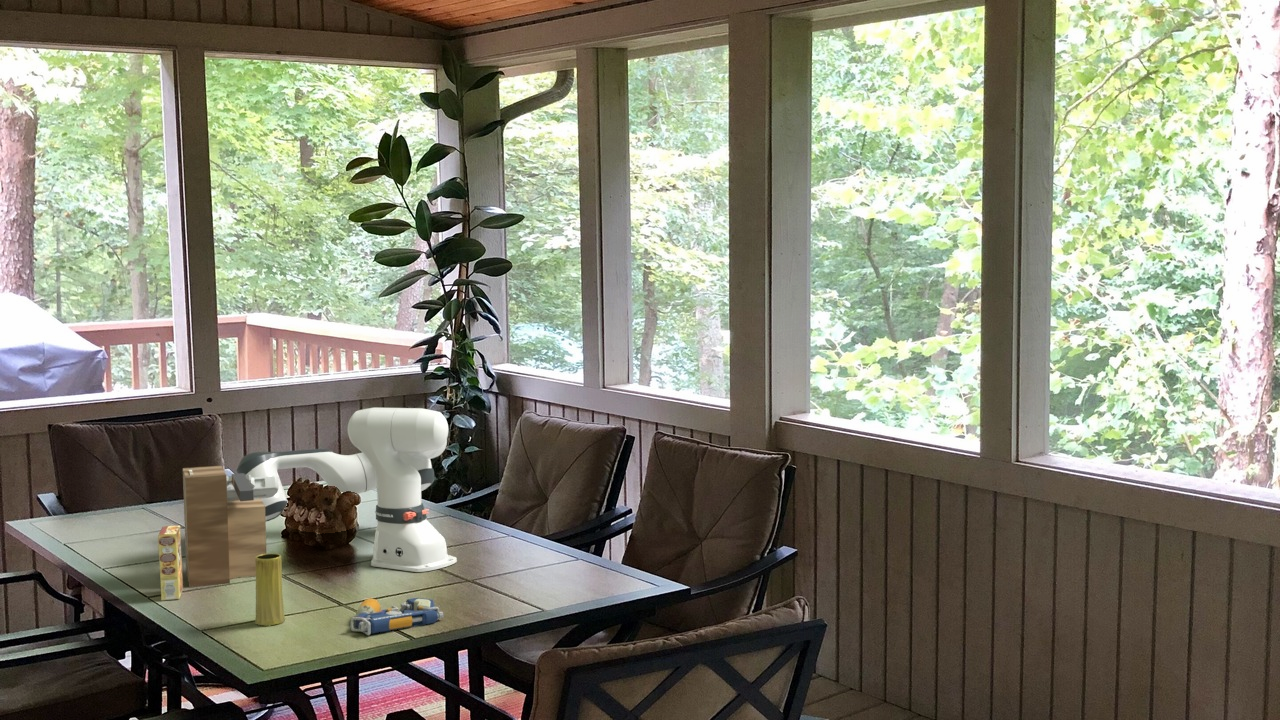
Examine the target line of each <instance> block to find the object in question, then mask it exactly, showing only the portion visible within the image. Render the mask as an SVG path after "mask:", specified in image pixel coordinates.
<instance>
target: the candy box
mask: <svg viewBox="0 0 1280 720" xmlns="http://www.w3.org/2000/svg"><path fill="white" fill-rule="evenodd" d="M157 540H158V557H159V559H158V560H159V577H160V596H161V597H160V598H161V599H160V600H161V601H171V600H179V599H180V598H181V596H182V593H183V590H184V585H183V584H184V581H183V565H182V564H183V562H182V560H183V559H182V539H181V525H169V526H168V525H166V526H162V527H161V530H160V531H159V533H158V534H157Z"/></svg>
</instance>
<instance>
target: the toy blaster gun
mask: <svg viewBox="0 0 1280 720" xmlns="http://www.w3.org/2000/svg"><path fill="white" fill-rule="evenodd" d="M381 608H382V607H381V604H380V603H379V601H378V600H377V599H375V598H367V599H364V601H362V603H361V604H360V606H359V607H358V609H357V610H356V612H355V616H352V617H351V618H350V630H351V631H352V632H361V633H363V634H365V635H366V636H370V635H371V634H373V635H374V634H378V633H379V632H380V633H385V632H392V631H397V629H398V630H404V629H409V628H408V627H410V628H414V626H416V627H420V625H421V626H427V625H432V624H435V623H436V621H438V619H442V618H444V616H445V615H444V612H443V611H440V608H439V607H438V606H436V605H435V602H434V599H431V598H423V597H422V598H421V597H413V598H407V599H406V601H405V602H404V601H403V602H402V603H400V609H399V607H397V606H395V605H394V604H393V605H391V607H390V608H387V609H382V610H381ZM424 624H425V625H424ZM426 624H427V625H426ZM418 625H419V626H418ZM403 628H404V629H403ZM391 630H392V631H391Z"/></svg>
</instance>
